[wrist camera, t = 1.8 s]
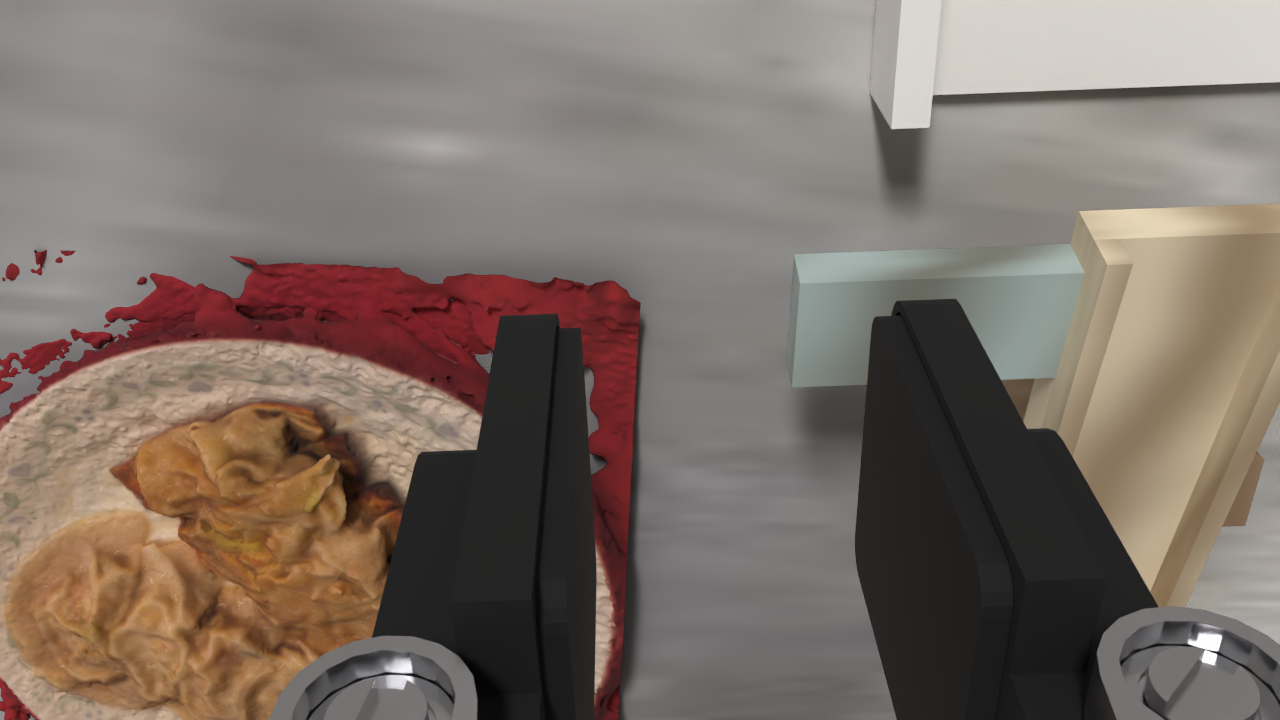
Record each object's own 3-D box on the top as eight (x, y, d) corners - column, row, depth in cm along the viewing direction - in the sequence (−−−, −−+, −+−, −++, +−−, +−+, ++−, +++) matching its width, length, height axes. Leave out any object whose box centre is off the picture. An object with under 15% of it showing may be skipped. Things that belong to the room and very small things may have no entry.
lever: (1304, 202, 29) (1376, 293, 27) (1119, 649, 42) (1154, 741, 39) (796, 221, 29) (816, 314, 27) (763, 662, 42) (775, 755, 39)
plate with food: (642, 259, 37) (643, 310, 34) (611, 831, 50) (609, 907, 47) (-157, 225, 36) (-231, 274, 33) (21, 814, 49) (-20, 889, 46)
